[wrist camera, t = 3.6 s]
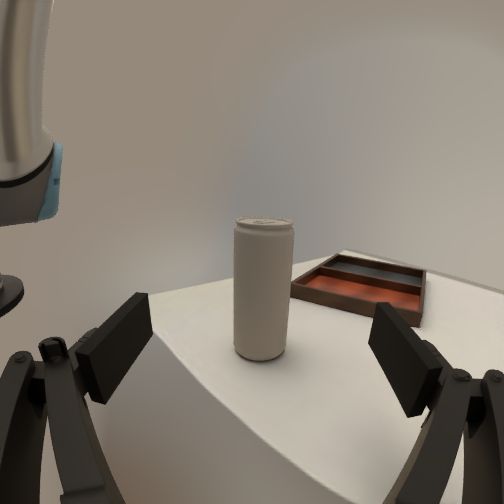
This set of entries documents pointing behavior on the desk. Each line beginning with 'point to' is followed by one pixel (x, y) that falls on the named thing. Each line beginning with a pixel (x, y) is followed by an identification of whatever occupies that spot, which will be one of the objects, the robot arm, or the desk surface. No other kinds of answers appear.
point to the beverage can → (262, 285)
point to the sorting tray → (363, 286)
